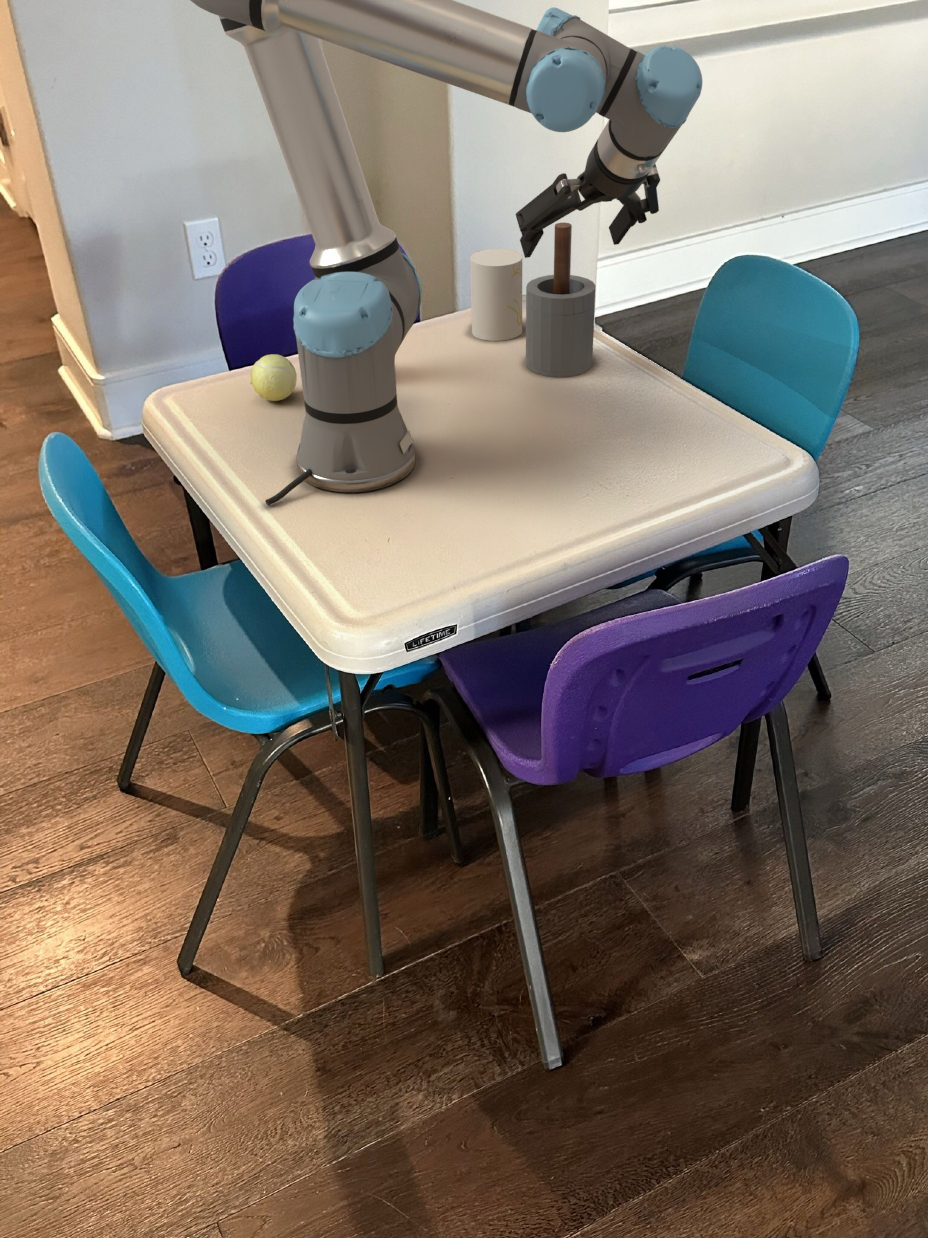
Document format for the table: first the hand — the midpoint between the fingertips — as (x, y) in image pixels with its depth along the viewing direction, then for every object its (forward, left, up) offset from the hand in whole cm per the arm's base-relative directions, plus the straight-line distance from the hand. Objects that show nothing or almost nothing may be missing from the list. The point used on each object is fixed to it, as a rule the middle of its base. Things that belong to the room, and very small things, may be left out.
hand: (569, 242), depth 158 cm
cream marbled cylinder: (+5, +19, -19) cm, 27 cm away
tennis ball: (-35, +25, -19) cm, 47 cm away
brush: (+2, +3, -18) cm, 19 cm away
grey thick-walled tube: (+2, +3, -19) cm, 20 cm away
